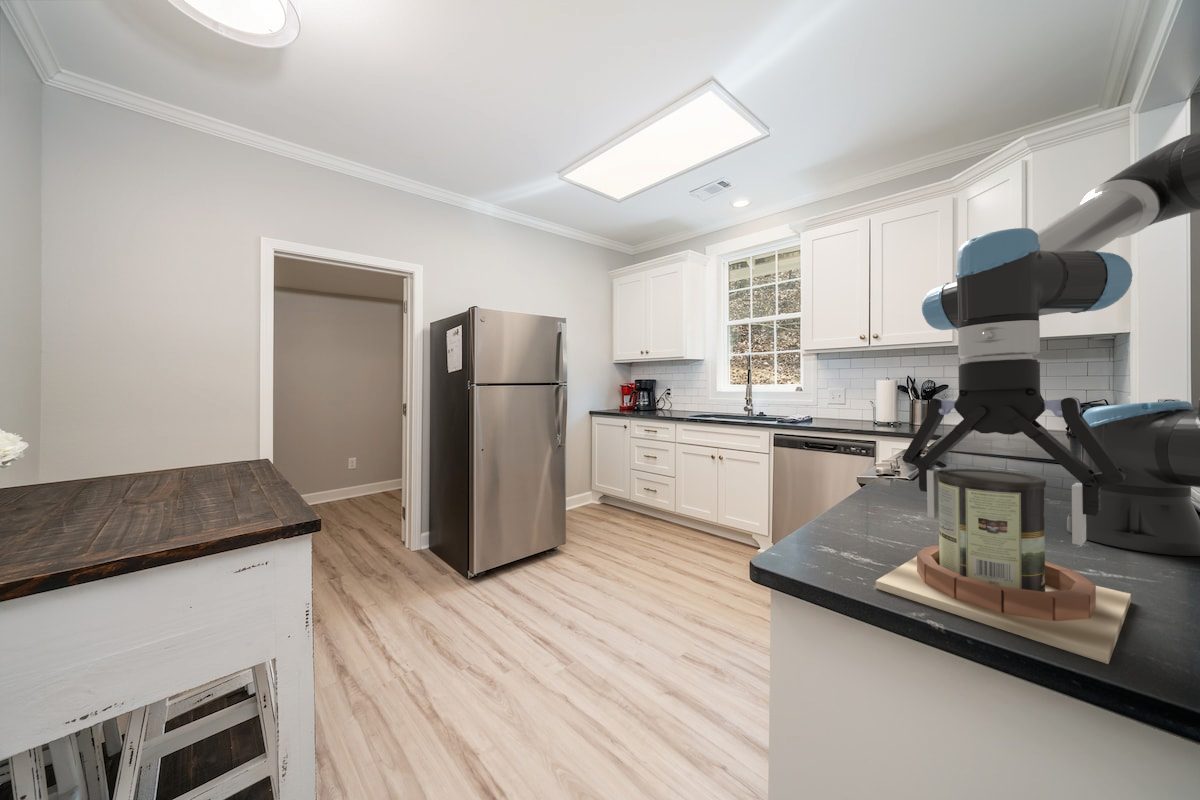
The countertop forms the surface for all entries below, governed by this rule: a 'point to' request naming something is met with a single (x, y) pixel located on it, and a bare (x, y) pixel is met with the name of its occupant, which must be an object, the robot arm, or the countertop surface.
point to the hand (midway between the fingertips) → (999, 527)
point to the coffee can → (993, 526)
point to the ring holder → (1020, 604)
